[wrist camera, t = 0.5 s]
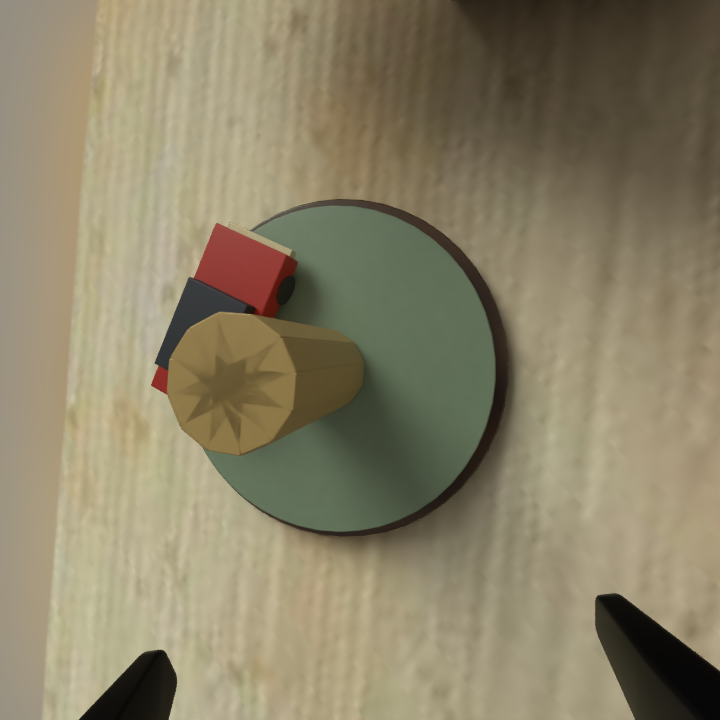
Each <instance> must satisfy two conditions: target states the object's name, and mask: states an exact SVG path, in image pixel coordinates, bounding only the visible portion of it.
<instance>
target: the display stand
mask: <svg viewBox="0 0 720 720" xmlns="http://www.w3.org/2000/svg"><path fill="white" fill-rule="evenodd" d="M323 206H354V207H360V208H366V209H371V210H376V211H379V212H382V213H385V214H388V215H391V216H394V217H396V218H398V219H400V220H402V221H405V222H407V223H409V224H411V225H413V226H415V227H416V228H418V229H419V230H421V231H422V232H423V233H425V234H426V235H428V236H429V237H431V238H432V239H434V240H435V241H436V242H437V243H438V244H439V245H440V246H441V247H442V248H443V249H445V250H446V251H447V252H448V253H449V254H450V255H451V256H452V258H453V259H454V260H455V261H456V262H457V264H458V265H459V266H460V267H461V268H462V269H463V271H464V272H465V274H466V275H467V277H468V279H469V280H470V282H471V283H472V285H473V287H474V288H475V290H476V292H477V294H478V296H479V298H480V300H481V303H482V305H483V307H484V309H485V312H486V315H487V318H488V322H489V325H490V329H491V332H492V337H493V344H494V350H495V357H496V383H495V390H494V398H493V405H492V408H491V412H490V416H489V419H488V423H487V426H486V429H485V431H484V433H483V436H482V438H481V440H480V443H479V445H478V447H477V449H476V451H475V452H474V454H473V455H472V457H471V459H470V460H469V462H468V464H467V465H466V467H465V468H464V469H463V471H462V472H461V473H460V474H459V475H458V477H457V478H456V479H455V480H454V482H453V483H452V484H451V485H450V486H449V487H448V488H447V489H445V490H444V491H443V492H442V493H441V494H440V495H439V496H438V497H437V498H436V499H434V500H433V501H431V502H430V503H428V504H427V505H426V506H424V507H423V508H421V509H420V510H418V511H417V512H415V513H413V514H411V515H409V516H407V517H405V518H403V519H401V520H398V521H395V522H392V523H389V524H386V525H384V526H381V527H377V528H371V529H366V530H361V531H346V532H333V531H321V530H314V529H310V528H306V527H301V526H297V525H294V524H292V523H289V522H286V521H283V520H281V519H278V518H276V517H274V516H273V515H271V514H269V513H267V512H265V511H263V510H261V509H260V508H258V507H257V506H255V505H254V504H252V503H251V502H250V501H248V500H247V499H245V498H244V497H243V496H242V495H241V494H240V493H239V494H240V495H241V496H242V497H243V498H244V499H245V500H246V501H248V502H249V503H250V504H252V505H253V506H255V507H256V508H258V509H259V510H260V511H262V512H263V513H265V514H267V515H269V516H271V517H272V518H274V519H276V520H278V521H280V522H282V523H285V524H287V525H290V526H293V527H295V528H298V529H300V530H304V531H309V532H313V533H317V534H322V535H332V536H342V537H343V536H365V535H371V534H377V533H382V532H387V531H390V530H393V529H396V528H399V527H402V526H405V525H408V524H410V523H412V522H414V521H416V520H418V519H420V518H422V517H424V516H426V515H427V514H429V513H430V512H432V511H433V510H435V509H436V508H438V507H439V506H441V505H442V504H444V503H445V502H446V501H447V500H448V499H450V498H451V497H452V496H453V495H454V494H455V493H456V492H457V491H458V490H460V489H461V488H462V487H463V485H464V484H465V483H466V482H467V481H468V479H469V478H470V477H471V476H472V475H473V473H474V472H475V471H476V470H477V468H478V467H479V465H480V463H481V462H482V460H483V459H484V457H485V455H486V454H487V452H488V451H489V448H490V446H491V444H492V442H493V439H494V437H495V435H496V433H497V430H498V428H499V424H500V421H501V417H502V414H503V410H504V407H505V401H506V393H507V386H508V353H507V346H506V338H505V332H504V329H503V325H502V322H501V318H500V315H499V311H498V309H497V306H496V304H495V302H494V299H493V297H492V295H491V293H490V290H489V288H488V287H487V285H486V283H485V282H484V280H483V278H482V277H481V275H480V274H479V272H478V270H477V269H476V267H475V266H474V265H473V264H472V262H471V261H470V260H469V259H468V258H467V256H466V255H465V254H464V253H463V252H462V250H461V249H460V248H458V247H457V246H456V245H455V244H454V243H453V242H452V241H451V240H450V239H449V238H448V237H446V236H445V235H444V234H443V233H441V232H440V231H439V230H437V229H436V228H434V227H433V226H431V225H430V224H428V223H427V222H425V221H424V220H422V219H420V218H418V217H416V216H414V215H412V214H410V213H408V212H406V211H403V210H400V209H397V208H394V207H391V206H388V205H385V204H381V203H375V202H370V201H364V200H350V199H336V200H325V201H317V202H313V203H308V204H304V205H300V206H297V207H294V208H291V209H289V210H286V211H283V212H281V213H278V214H276V215H275V216H273V217H271V218H269V219H267V220H265V221H263V222H262V223H260V224H258V225H257V226H256V227H254V228H253V229H252V230H250V231H251V232H253V231H254V230H256V229H257V228H259V227H261V226H263V225H265V224H267V223H268V222H270V221H272V220H274V219H277V218H279V217H282V216H284V215H287V214H289V213H292V212H296V211H300V210H304V209H309V208H313V207H323ZM222 477H223V476H222ZM223 478H224V477H223ZM228 484H229V483H228ZM229 485H230V484H229ZM230 486H231V485H230ZM231 487H232V486H231ZM232 488H233V487H232ZM233 489H234V488H233ZM234 490H235V489H234ZM235 491H236V490H235ZM236 492H237V491H236Z"/></svg>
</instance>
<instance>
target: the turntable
mask: <svg viewBox="0 0 720 720" xmlns="http://www.w3.org/2000/svg"><path fill="white" fill-rule="evenodd" d="M155 364H157V365H159V366H158V369H157V371H156V374H155V376H154V379H153V381H152V384H151V386H153V387H155V388H156V389H158V390H160V391H162V392H163V393H165V394H167V395H168V398H169V400H170V403H171V405H172V408H173V410H174V413H175V415H176V418H177V420H178V423H179V425H180V427H181V429H182V430H183V431H185V432H186V433H187V434H188V435H189V436H190V437H192V438H193V439H194V440H195V441H196V442H198V443H199V444H200V445H201V446H202V447H203V449H204V451H205V453H206V455H207V456H208V457H209V459H210V460H211V462H212V463H213V465H214V466H215V468H216V469H217V471H218V472H219V473H220V474H221V475H222V476H223V477H224V479H225V480H226V481H227V482H228V483H229V484H230V485H231V486H232V487H233V488H234V489H235V490H236V491H237V492H238V493H240V494H241V495H242V496H243V497H244V498H245V499H247V500H248V501H250V502H251V503H252V504H254V505H255V506H257V507H258V508H260V509H261V510H263V511H265V512H267V513H269V514H271V515H273V516H274V517H276V518H278V519H281V520H283V521H286V522H289V523H292V524H294V525H297V526H301V527H306V528H310V529H314V530H321V531H333V532H346V531H361V530H366V529H371V528H377V527H381V526H384V525H386V524H389V523H392V522H395V521H398V520H401V519H403V518H405V517H407V516H409V515H411V514H413V513H415V512H417V511H418V510H420V509H421V508H423V507H424V506H426V505H427V504H428V503H430V502H431V501H433V500H434V499H436V498H437V497H438V496H439V495H440V494H441V493H442V492H443V491H444V490H445V489H447V488H448V487H449V486H450V485H451V484H452V483H453V482H454V480H455V479H456V478H457V477H458V475H459V474H460V473H461V472H462V471H463V469H464V468H465V467H466V465H467V464H468V462H469V460H470V459H471V457H472V455H473V454H474V452H475V451H476V449H477V447H478V445H479V443H480V440H481V438H482V436H483V433H484V431H485V429H486V426H487V423H488V419H489V416H490V412H491V408H492V405H493V398H494V390H495V383H496V357H495V350H494V344H493V337H492V332H491V329H490V325H489V322H488V318H487V315H486V312H485V309H484V307H483V305H482V303H481V300H480V298H479V296H478V294H477V292H476V290H475V288H474V287H473V285H472V283H471V282H470V280H469V279H468V277H467V275H466V274H465V272H464V271H463V269H462V268H461V267H460V266H459V265H458V264H457V262H456V261H455V260H454V259H453V258H452V256H451V255H450V254H449V253H448V252H447V251H446V250H445V249H443V248H442V247H441V246H440V245H439V244H438V243H437V242H436V241H435V240H434V239H432V238H431V237H429V236H428V235H426V234H425V233H423V232H422V231H421V230H419V229H418V228H416V227H415V226H413V225H411V224H409V223H407V222H405V221H402V220H400V219H398V218H396V217H394V216H391V215H388V214H385V213H382V212H379V211H376V210H371V209H366V208H360V207H354V206H323V207H313V208H309V209H304V210H300V211H296V212H292V213H289V214H287V215H284V216H282V217H279V218H277V219H274V220H272V221H270V222H268V223H267V224H265V225H263V226H261V227H259V228H257V229H256V230H254V231H253V232H251V231H249V230H247V229H244V228H242V227H240V226H238V225H235V224H233V223H231V222H230V223H229V225H228V227H225V226H222V225H220V224H218V223H216V224H215V227H214V229H213V232H212V234H211V237H210V239H209V242H208V244H207V247H206V249H205V252H204V254H203V257H202V259H201V262H200V264H199V267H198V269H197V272H196V274H195V277H194V278H191V277H189V278H188V281H187V283H186V286H185V288H184V291H183V293H182V296H181V298H180V301H179V303H178V306H177V308H176V311H175V313H174V316H173V318H172V321H171V323H170V326H169V328H168V331H167V333H166V336H165V338H164V341H163V343H162V346H161V348H160V351H159V353H158V356H157V358H156V361H155Z"/></svg>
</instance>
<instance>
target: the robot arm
mask: <svg viewBox="0 0 720 720" xmlns="http://www.w3.org/2000/svg"><path fill="white" fill-rule="evenodd" d="M595 626H596V631H597V634H598V637H599V639H600V642H601V644H602V646H603V649H604V651H605V653H606V655H607V657H608V660H609V662H610V664H611V666H612V669H613V671H614V673H615V675H616V678H617V680H618V682H619V684H620V687H621V689H622V691H623V693H624V695H625V698H626V700H627V702H628V704H629V707H630V709H631V711H632V713H633V716H634V718H635V720H720V671H719V670H718V669H716V668H715V667H714V666H713V665H711V664H710V663H709V662H707V661H706V660H705V659H703V658H702V657H701V656H700V655H698V654H697V653H696V652H694V651H693V650H692V649H690V648H689V647H688V646H686V645H685V644H684V643H683V642H681V641H680V640H679V639H677V638H676V637H675V636H673V635H672V634H671V633H670V632H668V631H667V630H666V629H664V628H663V627H662V626H660V625H659V624H658V623H657V622H655V621H654V620H653V619H651V618H650V617H649V616H647V615H646V614H645V613H644V612H642V611H641V610H640V609H638V608H637V607H636V606H634V605H633V604H632V603H630V602H629V601H628V600H627V599H625V598H624V597H623V596H621V595H619V594H616V593H612V594H604V595H598V596H597V597H596V600H595ZM176 687H177V676H176V673H175V671H174V668H173V666H172V664H171V662H170V660H169V658H168V656H167V654H166V652H165V651H163V650H154V651H147V652H144V653H143V654H141V655H140V656H139V657H138V658H137V659H136V660H135V661H134V662H133V663H132V664H131V665H130V666H129V668H128V669H127V670H126V671H125V672H124V673H123V674H122V675H121V676H120V677H119V678H118V679H117V680H116V681H115V682H114V683H113V684H112V685H111V686H110V687H109V688H108V690H107V691H106V692H105V693H104V694H103V695H102V696H101V697H100V698H99V699H98V700H97V701H96V702H95V703H94V704H93V705H92V706H91V707H90V708H89V709H88V710H87V712H86V713H85V714H84V715H83V716H82V717H81V718H80V719H79V720H169V716H170V712H171V708H172V704H173V700H174V696H175V692H176Z"/></svg>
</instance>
